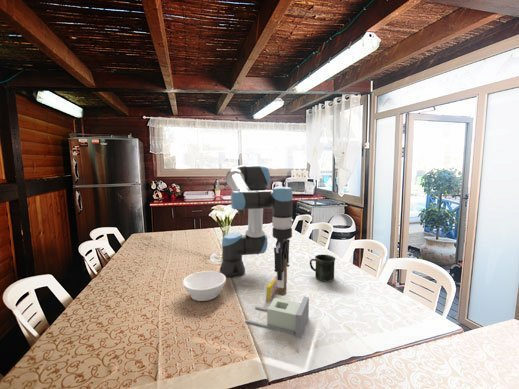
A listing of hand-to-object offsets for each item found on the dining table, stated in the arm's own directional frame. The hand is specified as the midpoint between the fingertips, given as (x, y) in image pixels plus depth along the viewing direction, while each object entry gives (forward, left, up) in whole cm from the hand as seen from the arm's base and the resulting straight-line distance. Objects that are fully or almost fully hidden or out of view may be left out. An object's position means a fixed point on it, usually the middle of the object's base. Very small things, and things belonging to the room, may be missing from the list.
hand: (281, 284), depth 102 cm
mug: (+8, +51, -17) cm, 55 cm away
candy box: (-11, +21, -17) cm, 29 cm away
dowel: (0, 0, -3) cm, 3 cm away
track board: (-3, 0, -17) cm, 17 cm away
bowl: (-43, +9, -17) cm, 47 cm away
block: (+1, 0, -16) cm, 16 cm away
